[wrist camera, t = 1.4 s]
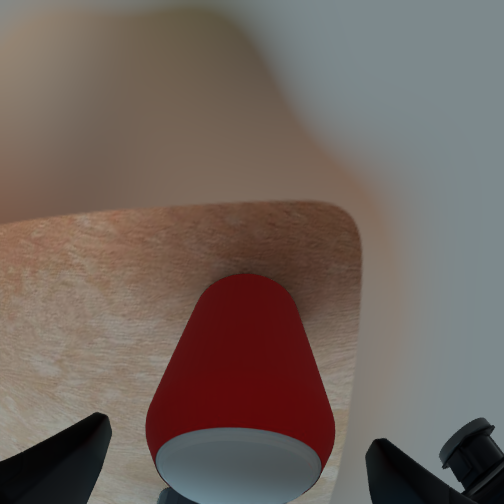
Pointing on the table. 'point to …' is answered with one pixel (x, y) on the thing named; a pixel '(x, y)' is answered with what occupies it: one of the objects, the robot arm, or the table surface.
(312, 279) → the table surface
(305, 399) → the beverage can
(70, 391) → the table surface
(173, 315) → the table surface
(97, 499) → the table surface
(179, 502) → the pot
